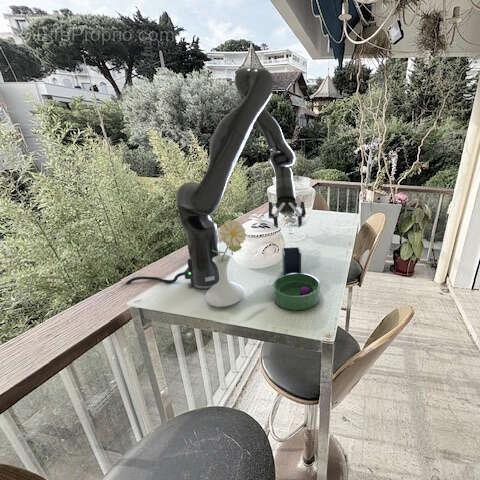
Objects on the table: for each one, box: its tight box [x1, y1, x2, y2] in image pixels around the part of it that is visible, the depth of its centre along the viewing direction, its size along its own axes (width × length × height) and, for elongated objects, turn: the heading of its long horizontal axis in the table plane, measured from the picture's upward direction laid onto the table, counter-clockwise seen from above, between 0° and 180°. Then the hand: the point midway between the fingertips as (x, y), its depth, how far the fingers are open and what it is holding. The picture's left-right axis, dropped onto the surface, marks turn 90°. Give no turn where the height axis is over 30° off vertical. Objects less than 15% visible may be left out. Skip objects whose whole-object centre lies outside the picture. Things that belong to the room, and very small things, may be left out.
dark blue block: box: [281, 246, 302, 276], centre depth 94 cm, size 6×6×10 cm
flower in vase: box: [204, 219, 247, 308], centre depth 77 cm, size 13×11×25 cm
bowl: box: [273, 272, 321, 311], centre depth 82 cm, size 14×14×5 cm
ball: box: [300, 287, 310, 296], centre depth 82 cm, size 3×3×3 cm
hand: (288, 226), depth 100 cm, fingers open, 8 cm apart
